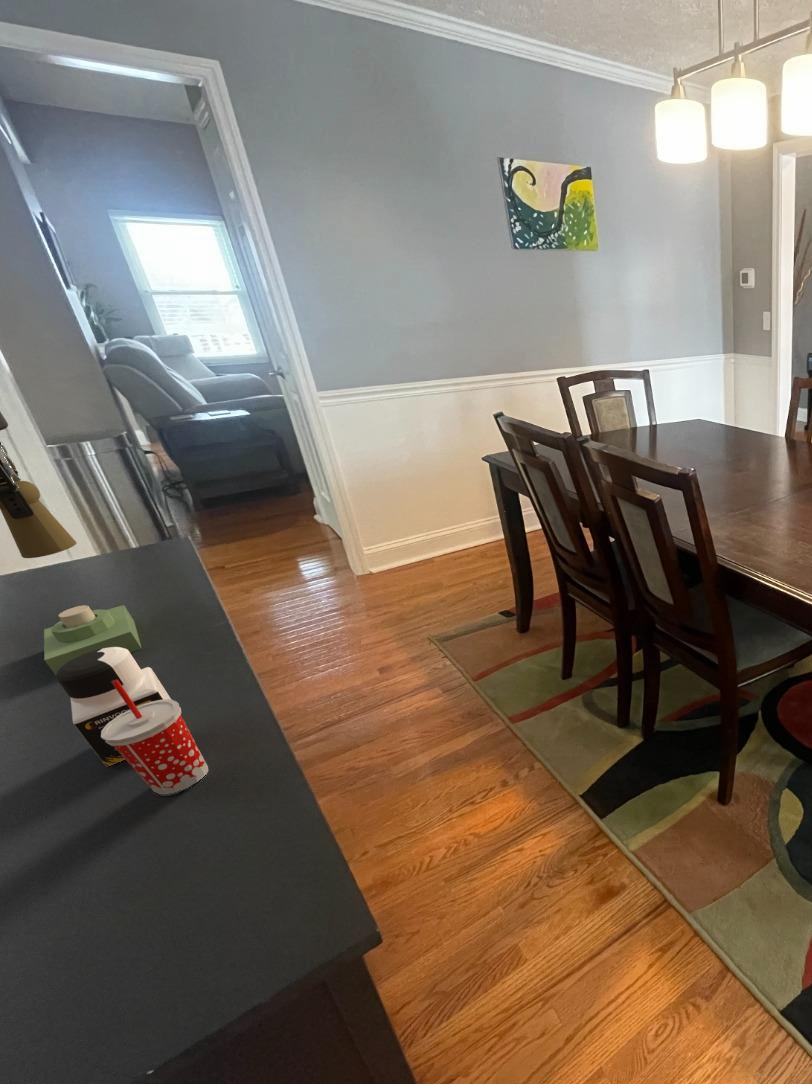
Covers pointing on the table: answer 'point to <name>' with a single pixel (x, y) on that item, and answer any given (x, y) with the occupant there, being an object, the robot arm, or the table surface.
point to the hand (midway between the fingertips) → (24, 511)
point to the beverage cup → (156, 744)
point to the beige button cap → (77, 616)
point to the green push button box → (90, 636)
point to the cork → (36, 527)
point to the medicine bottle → (106, 693)
